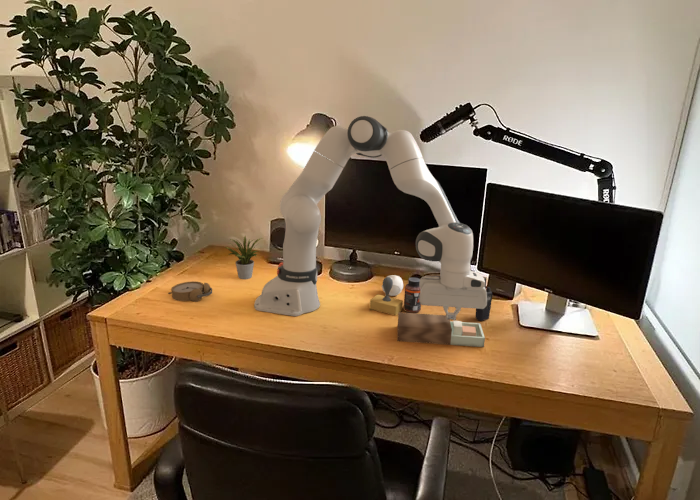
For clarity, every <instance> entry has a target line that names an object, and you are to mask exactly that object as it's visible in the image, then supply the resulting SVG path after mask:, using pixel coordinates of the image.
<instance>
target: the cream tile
mask: <svg viewBox="0 0 700 500" xmlns="http://www.w3.org/2000/svg"><path fill="white" fill-rule="evenodd" d="M452 322H453V328H452V332H453V335H459V336H461V335H462V322H463V321H461V320H452Z"/></svg>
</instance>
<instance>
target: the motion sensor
mask: <svg viewBox="0 0 700 500" xmlns="http://www.w3.org/2000/svg"><path fill="white" fill-rule="evenodd" d="M386 277H390V278H391V279H392V281H393V285H392V288H391V290H390V292H389V297H393V296H394V297H395V296H398V295H399V294H401V293H402V291H403V289H404V282H403V279H402V277H400V275H396V274H394V275H393V274H392V275H387V276H386ZM381 289H382V291H383V293H385V291H384V288H383V284H382V285H381Z"/></svg>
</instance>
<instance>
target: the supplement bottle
mask: <svg viewBox="0 0 700 500" xmlns="http://www.w3.org/2000/svg"><path fill="white" fill-rule="evenodd" d="M420 279H421V278H418V277H409V278H408V281H407V282H408V283H407V284H405V285H404V297H403V310H404V311H405V312H406V313H417V314H418V313H419V312H421V309H422V305H421V303H420V302H419V295H420V290H421V288H420V286H419V282H420Z"/></svg>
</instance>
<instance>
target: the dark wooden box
mask: <svg viewBox="0 0 700 500" xmlns="http://www.w3.org/2000/svg"><path fill="white" fill-rule="evenodd" d="M450 321H451V320H449V319H446V314H444V315H443V314H431V313H418V312H417V313H410V312H403V311H401V312H398V314H397V333H396V334H397V339H396V340H397V342H404V343H405V342H407V343H420V344H421V343H422V344H434V345H447V346H449V345H450V344H451V334H452V328H451V323H450ZM450 346H451V345H450Z"/></svg>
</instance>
